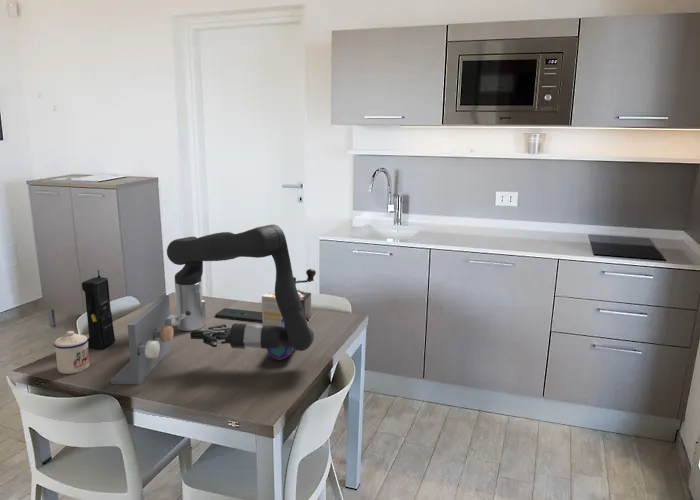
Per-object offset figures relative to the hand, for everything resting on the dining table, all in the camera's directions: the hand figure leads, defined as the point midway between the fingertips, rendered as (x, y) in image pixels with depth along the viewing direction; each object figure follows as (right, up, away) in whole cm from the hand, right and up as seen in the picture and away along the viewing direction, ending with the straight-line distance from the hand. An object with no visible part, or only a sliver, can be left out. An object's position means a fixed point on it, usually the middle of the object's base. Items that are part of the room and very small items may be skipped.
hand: (191, 334), depth 165 cm
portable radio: (-35, -6, +16) cm, 38 cm away
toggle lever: (-6, +4, +11) cm, 13 cm away
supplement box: (+21, -3, +33) cm, 39 cm away
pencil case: (+27, -7, +16) cm, 33 cm away
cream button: (-10, -5, -10) cm, 15 cm away
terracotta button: (-10, -2, +1) cm, 10 cm away
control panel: (-15, -9, +3) cm, 18 cm away
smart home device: (+7, -1, +45) cm, 46 cm away
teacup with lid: (-35, -10, 0) cm, 36 cm away
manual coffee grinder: (+28, 0, +46) cm, 54 cm away
